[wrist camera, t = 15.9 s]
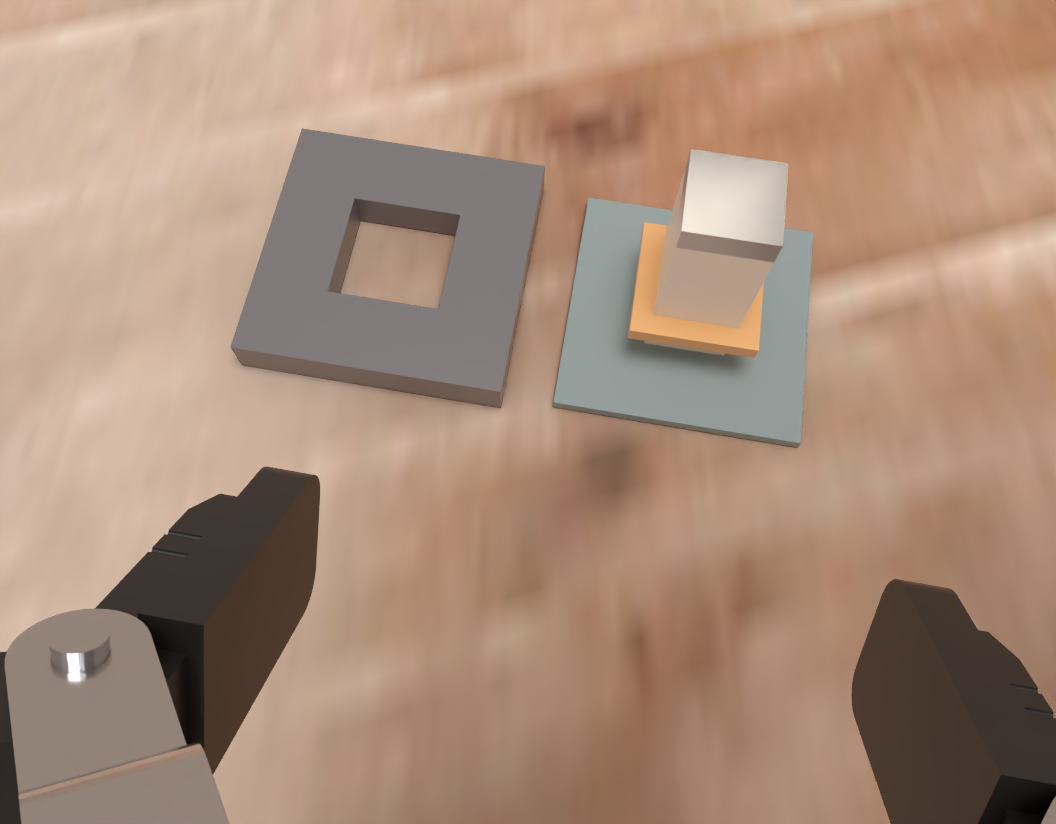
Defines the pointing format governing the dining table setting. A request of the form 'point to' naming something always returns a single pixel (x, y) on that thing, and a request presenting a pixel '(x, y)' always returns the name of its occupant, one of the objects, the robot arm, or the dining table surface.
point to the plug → (711, 257)
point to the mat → (676, 374)
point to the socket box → (382, 326)
